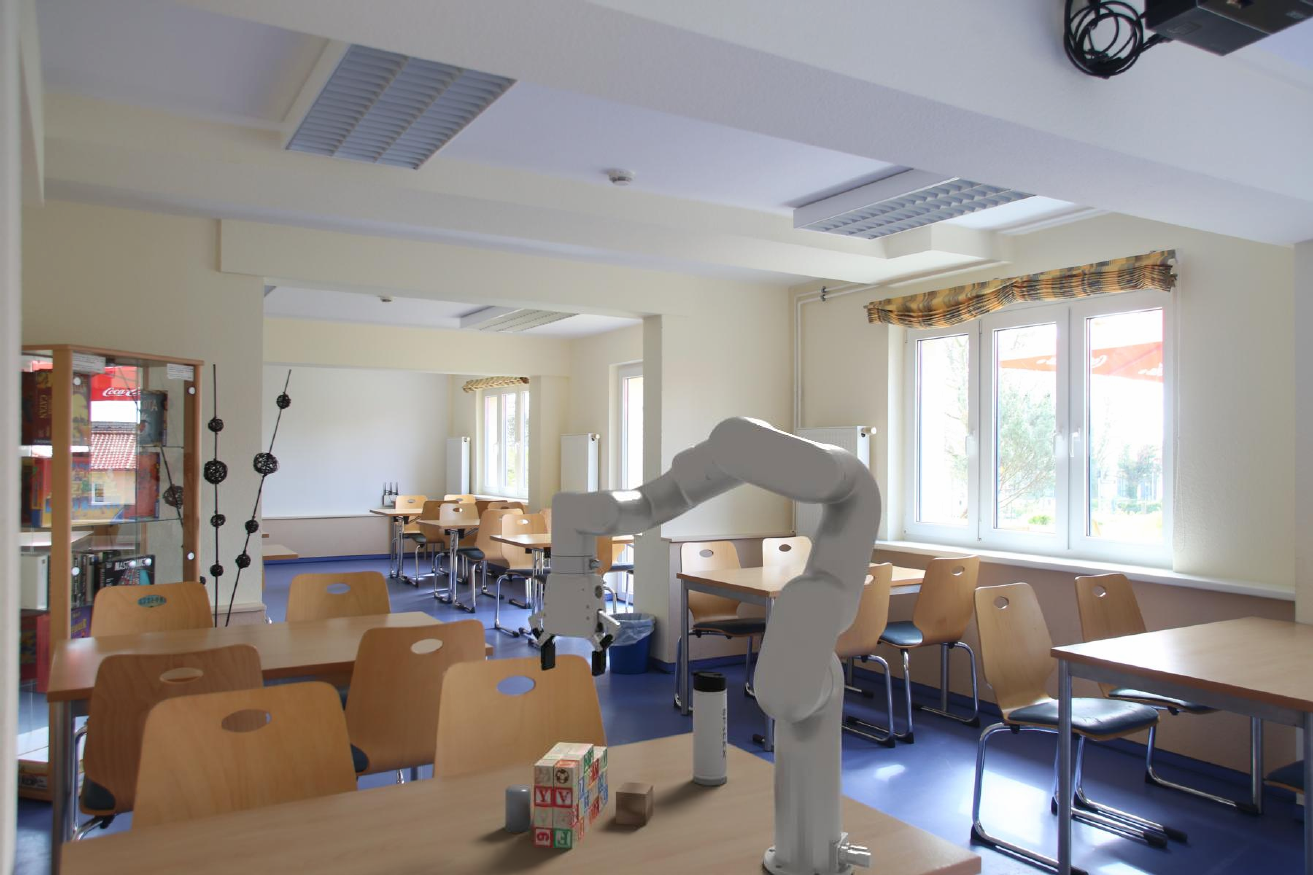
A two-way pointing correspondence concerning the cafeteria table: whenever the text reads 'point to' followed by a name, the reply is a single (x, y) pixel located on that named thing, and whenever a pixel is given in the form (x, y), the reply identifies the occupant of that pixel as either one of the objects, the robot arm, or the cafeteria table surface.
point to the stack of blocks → (568, 793)
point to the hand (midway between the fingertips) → (572, 671)
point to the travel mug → (709, 728)
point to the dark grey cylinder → (518, 808)
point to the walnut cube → (634, 803)
